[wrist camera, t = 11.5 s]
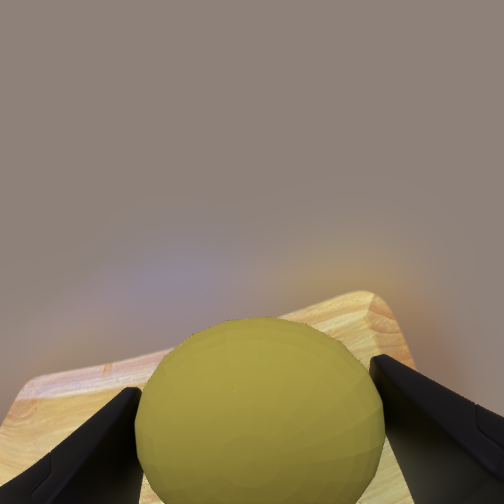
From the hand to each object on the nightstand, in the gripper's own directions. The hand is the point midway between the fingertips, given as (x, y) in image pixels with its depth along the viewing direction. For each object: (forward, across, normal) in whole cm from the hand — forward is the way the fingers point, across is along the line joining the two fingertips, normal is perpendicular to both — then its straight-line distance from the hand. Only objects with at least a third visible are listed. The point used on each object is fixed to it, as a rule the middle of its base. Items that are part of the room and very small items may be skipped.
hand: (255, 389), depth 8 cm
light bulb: (+4, 0, +6) cm, 7 cm away
